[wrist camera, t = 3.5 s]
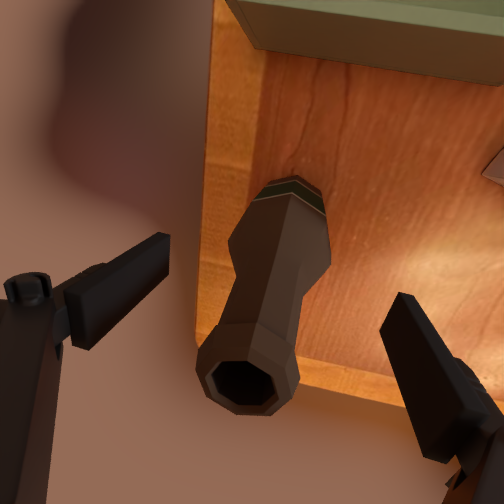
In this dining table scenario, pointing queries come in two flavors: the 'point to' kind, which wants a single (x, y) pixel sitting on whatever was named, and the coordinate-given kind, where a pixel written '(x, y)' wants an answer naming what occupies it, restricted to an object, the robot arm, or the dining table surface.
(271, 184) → the beer bottle
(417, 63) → the open storage bin
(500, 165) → the tea box
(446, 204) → the dining table surface
